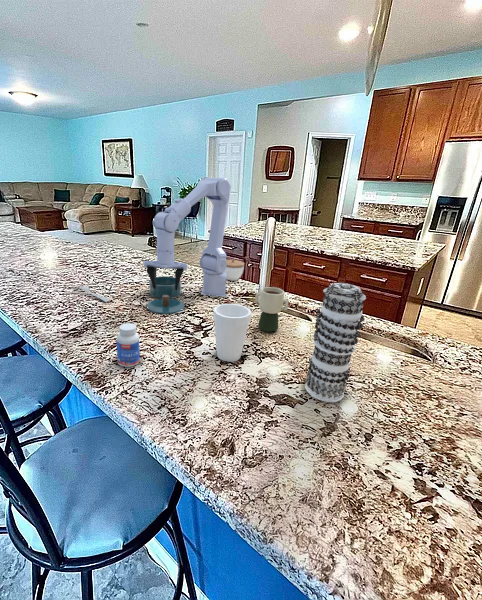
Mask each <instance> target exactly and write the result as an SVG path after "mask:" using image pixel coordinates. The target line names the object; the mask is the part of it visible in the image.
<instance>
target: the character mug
mask: <svg viewBox="0 0 482 600" xmlns="http://www.w3.org/2000/svg"><path fill="white" fill-rule="evenodd" d="M254 302H255V303H258V307H259V311H261V313H260V316H259V320H258V323H257V327H258V328H259V330H261V331H264V332H267V333H268V332H275V331H277V330H279V313H281V311H282V310H284V311H288V309H289V300H288V299H285V291H284V289H282V288H279V287H274V286H265V287H261V289H260V292H258V291H256V292H255V298H254Z"/></svg>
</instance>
